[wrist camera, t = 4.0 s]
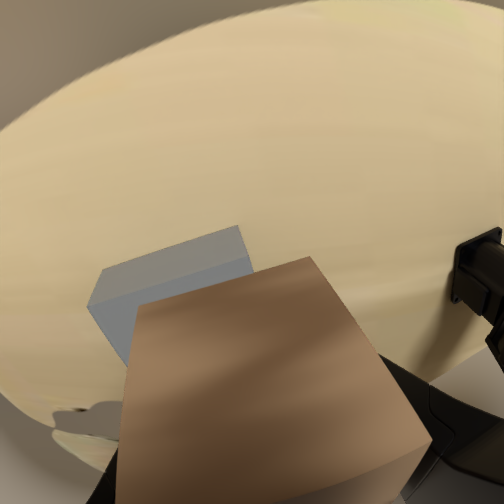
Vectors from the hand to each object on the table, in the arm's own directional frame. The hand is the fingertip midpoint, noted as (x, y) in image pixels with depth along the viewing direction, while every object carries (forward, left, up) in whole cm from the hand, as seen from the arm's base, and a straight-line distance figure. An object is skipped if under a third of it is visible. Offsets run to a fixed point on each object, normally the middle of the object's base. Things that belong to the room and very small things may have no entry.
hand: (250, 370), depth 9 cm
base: (+3, +5, -11) cm, 13 cm away
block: (0, 0, -1) cm, 1 cm away
